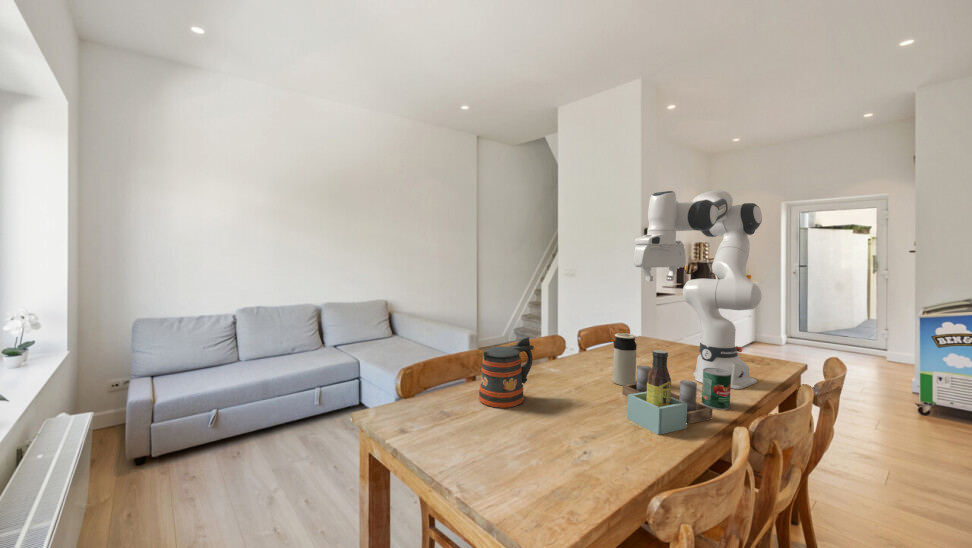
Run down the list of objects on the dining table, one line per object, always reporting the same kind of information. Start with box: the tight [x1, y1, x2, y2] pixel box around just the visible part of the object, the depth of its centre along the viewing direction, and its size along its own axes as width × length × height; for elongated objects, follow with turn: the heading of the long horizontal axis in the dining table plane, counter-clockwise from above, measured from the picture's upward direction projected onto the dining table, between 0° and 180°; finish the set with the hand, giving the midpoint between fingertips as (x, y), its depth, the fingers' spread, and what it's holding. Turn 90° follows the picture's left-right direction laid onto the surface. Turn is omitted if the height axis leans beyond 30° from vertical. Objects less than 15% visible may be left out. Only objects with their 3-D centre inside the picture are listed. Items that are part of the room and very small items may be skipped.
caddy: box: [626, 392, 687, 436], centre depth 114 cm, size 10×12×7 cm
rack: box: [622, 364, 713, 425], centre depth 127 cm, size 10×26×10 cm, turn 24°
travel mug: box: [612, 332, 638, 387], centre depth 149 cm, size 8×8×18 cm
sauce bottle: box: [646, 349, 672, 407], centre depth 114 cm, size 7×6×20 cm
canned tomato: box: [701, 368, 732, 411], centre depth 128 cm, size 8×8×11 cm
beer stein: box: [478, 336, 535, 409], centre depth 131 cm, size 19×15×20 cm
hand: (659, 281), depth 134 cm, fingers open, 8 cm apart
